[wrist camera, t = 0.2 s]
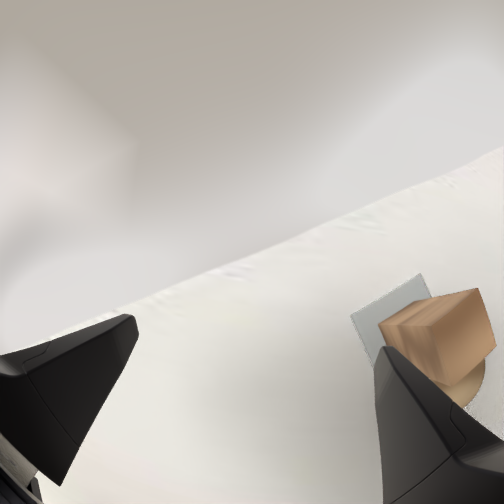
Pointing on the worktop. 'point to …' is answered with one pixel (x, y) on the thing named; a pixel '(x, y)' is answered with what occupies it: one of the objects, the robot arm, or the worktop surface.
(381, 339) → the tile
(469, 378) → the cork coaster
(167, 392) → the worktop surface
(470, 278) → the worktop surface
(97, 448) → the worktop surface
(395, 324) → the walnut block
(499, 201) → the worktop surface
